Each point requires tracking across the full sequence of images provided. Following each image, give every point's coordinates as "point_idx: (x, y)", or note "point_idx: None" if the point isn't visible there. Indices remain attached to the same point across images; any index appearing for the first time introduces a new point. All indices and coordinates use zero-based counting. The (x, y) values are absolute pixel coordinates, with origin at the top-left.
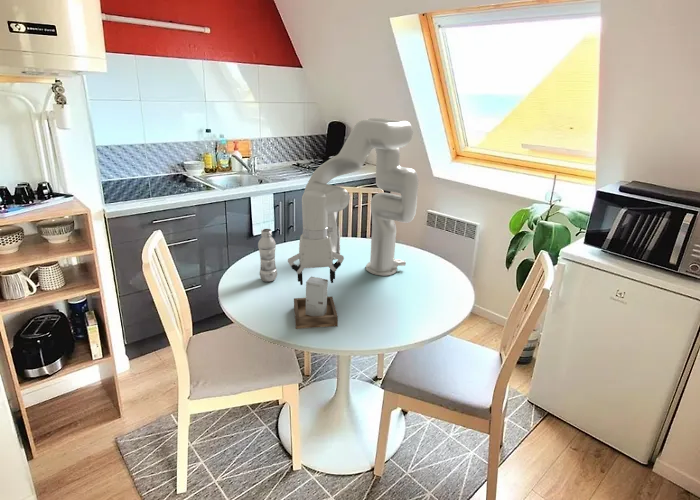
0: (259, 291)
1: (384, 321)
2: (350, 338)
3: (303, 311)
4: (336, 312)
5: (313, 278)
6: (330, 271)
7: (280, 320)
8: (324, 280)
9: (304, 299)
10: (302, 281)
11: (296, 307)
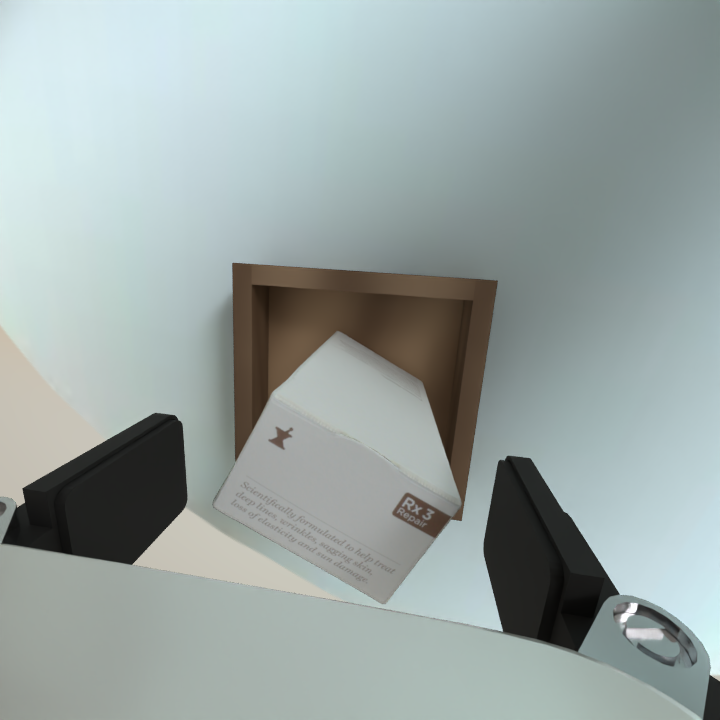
0: (52, 10)
1: (716, 500)
2: (483, 582)
3: (299, 347)
4: (466, 480)
5: (294, 458)
6: (528, 629)
7: (190, 378)
8: (415, 526)
9: (299, 287)
10: (161, 531)
11: (244, 379)
